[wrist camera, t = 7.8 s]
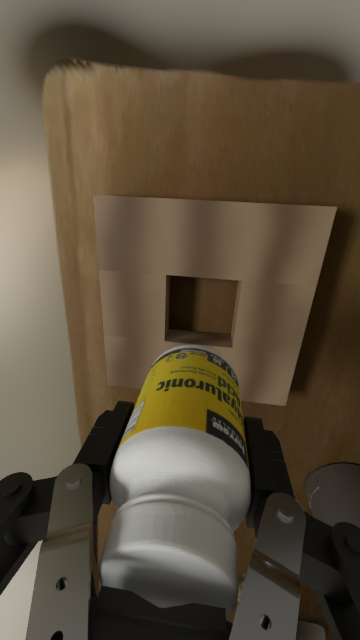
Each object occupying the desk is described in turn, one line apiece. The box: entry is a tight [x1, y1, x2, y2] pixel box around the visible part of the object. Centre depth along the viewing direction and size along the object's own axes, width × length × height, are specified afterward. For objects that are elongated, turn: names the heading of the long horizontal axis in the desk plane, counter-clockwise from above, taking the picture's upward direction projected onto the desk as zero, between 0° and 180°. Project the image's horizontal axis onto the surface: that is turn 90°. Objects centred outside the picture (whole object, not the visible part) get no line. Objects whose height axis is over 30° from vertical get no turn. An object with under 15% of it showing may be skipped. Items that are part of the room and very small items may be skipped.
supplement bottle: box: [98, 345, 251, 616], centre depth 12 cm, size 5×5×10 cm
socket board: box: [93, 195, 337, 406], centre depth 27 cm, size 20×20×3 cm
